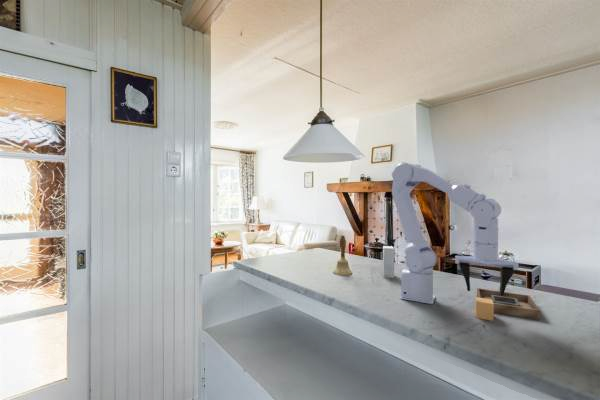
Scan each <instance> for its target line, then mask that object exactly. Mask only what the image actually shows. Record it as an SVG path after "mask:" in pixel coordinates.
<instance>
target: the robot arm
mask: <svg viewBox="0 0 600 400" xmlns="http://www.w3.org/2000/svg"><path fill="white" fill-rule="evenodd" d="M391 176H392V185H391V196H392V199H393V201H394V204H395V208H396V211H397V212H396V213H397V214H398V217H399V221H400V224H401V228H402V230H403V234H404V238H405V241H406V246H405V248H404V253H405V259H404V260H405V263H404V264H405V265H406V267H407V269H405V268H404V269H402V271H401V279H400V280H401V282H400V285H401V286H400V299H401V300H406V301H407V300H408V301H413V302H418V303H422V304H423V303H424V304H429V305H433V304H434V303H435V298H436V296H435V294H434V267H435V265H437V261H438V258H437V255H436V253H435V251H433V250H432V247H431V245H430V243H428V241H426V239H425V237H424V234H423V231H422V228H421V226H420V222H419V218H418V216H417V213H416V210H415V206H414V204H413V201H412V198H411V192H412V191H413V189H414V188H415V187H416V186H418V184H420V183H421V182H423V183H425V182H426V183H427V184H429V185H431V186H433V187H434V188H436V189H438V190H439V191H442V192H443V193H445V194H447V196H448V200H449V201H451V202H452V203H453V204H455V205H457V206H458V207H460V208H462V209H464V210H465V211H467V212H469V213H470V215H471V216H472V218H473V242H472V243H473V247H472V248H473V251H472V252H473V253H472V255H471V256H468V255H466V256H465V255H455V257H454V258H455V261H454V263H455V264H457V265H458V264H459V269H460V270H461V273H462V276H463V278H464V281H465V283H466V284H465V285H466V291H467V292H471V280H470V279H471V278H470V277H471V276H470V273H471V272H470V271H471V269H470V267H471V266H481V267H491V268H499V270H500V273H499V274H500V281H499V282H500V284H499V291H500V295H501V296H504V292H506V291H505V290H506V288H507V285H508V284H509V281H510V280H511V278H512V276H513V275H514V274H515V273H514V271H518V270H519V262H518V261H517V260H509V259H501V258H499V218H498V217H500V215H501V213H502V206H501V205H500V204H499V203H498V201H496V200H495V199H494V198H486V197H487V195H486V194H484V193H479V192H477V191H475V190H473V189H472V188H471V186H472V185H469V184H467V183H466V184H462V183H458V184H454V183H452V182H450V181H449V180H447V179H446V178H444V177H442V176H441V175H440V174H437V173H436V172H434V171H433V170H431V169H429V168H427V167H424V166H421V165H420V164H413V163H408V162H400V163H398V164H397V165H395V167H394V169H393V171H392V173H391ZM470 265H471V266H470Z"/></svg>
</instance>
